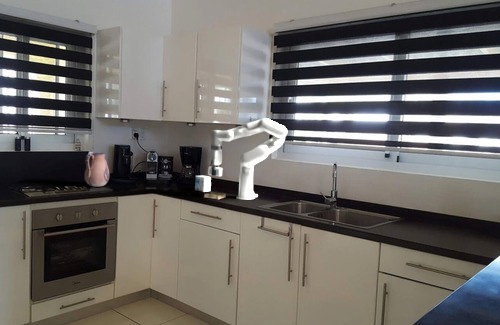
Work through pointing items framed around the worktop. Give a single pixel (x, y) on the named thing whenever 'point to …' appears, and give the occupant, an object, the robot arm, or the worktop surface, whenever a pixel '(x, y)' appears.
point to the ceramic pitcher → (96, 169)
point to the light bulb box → (203, 183)
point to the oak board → (215, 195)
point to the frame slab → (218, 171)
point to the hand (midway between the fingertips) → (215, 174)
